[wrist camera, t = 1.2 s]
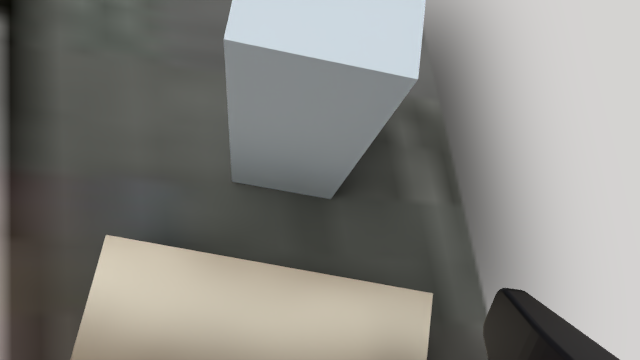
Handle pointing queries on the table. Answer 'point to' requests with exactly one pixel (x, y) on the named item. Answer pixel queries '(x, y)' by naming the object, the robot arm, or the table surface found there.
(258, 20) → the tall block
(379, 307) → the wooden block
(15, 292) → the table surface
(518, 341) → the robot arm
